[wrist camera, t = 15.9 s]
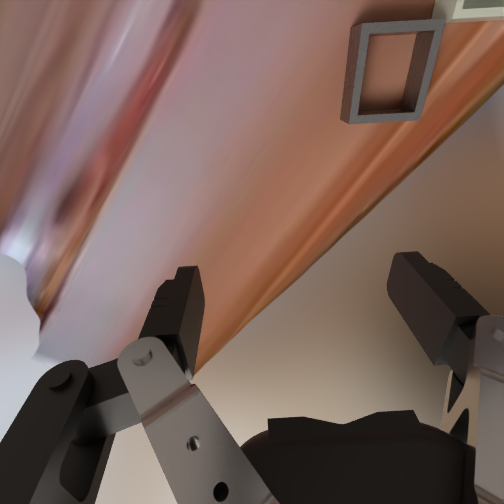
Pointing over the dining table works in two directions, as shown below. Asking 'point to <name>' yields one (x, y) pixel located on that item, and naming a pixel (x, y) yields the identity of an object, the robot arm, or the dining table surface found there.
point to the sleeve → (417, 75)
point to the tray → (468, 10)
